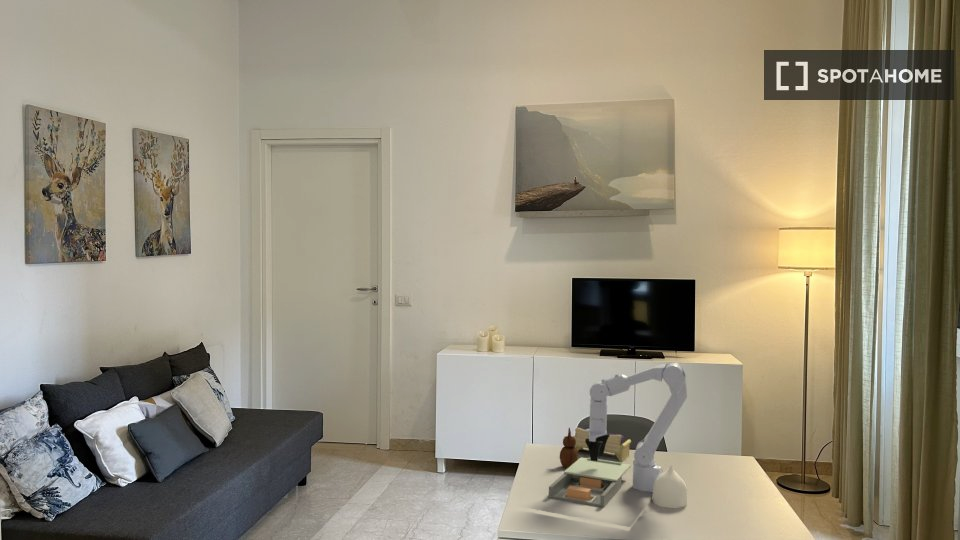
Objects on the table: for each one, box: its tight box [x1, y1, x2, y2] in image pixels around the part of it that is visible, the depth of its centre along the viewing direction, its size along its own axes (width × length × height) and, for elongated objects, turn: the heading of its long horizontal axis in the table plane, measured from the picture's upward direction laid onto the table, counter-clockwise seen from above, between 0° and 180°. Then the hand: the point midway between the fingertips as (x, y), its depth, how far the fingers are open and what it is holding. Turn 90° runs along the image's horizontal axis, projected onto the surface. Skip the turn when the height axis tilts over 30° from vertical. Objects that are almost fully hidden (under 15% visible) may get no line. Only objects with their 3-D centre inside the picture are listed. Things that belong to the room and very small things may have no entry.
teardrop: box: [651, 465, 688, 509], centre depth 244 cm, size 11×11×12 cm
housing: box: [548, 472, 623, 508], centre depth 248 cm, size 18×21×5 cm
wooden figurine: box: [559, 427, 579, 469], centre depth 278 cm, size 7×6×15 cm
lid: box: [563, 457, 632, 482], centre depth 260 cm, size 18×18×1 cm
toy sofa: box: [572, 427, 632, 462], centre depth 295 cm, size 21×9×10 cm, turn 60°
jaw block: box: [567, 486, 591, 501], centre depth 242 cm, size 7×3×3 cm, turn 65°
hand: (597, 457), depth 258 cm, fingers open, 7 cm apart
